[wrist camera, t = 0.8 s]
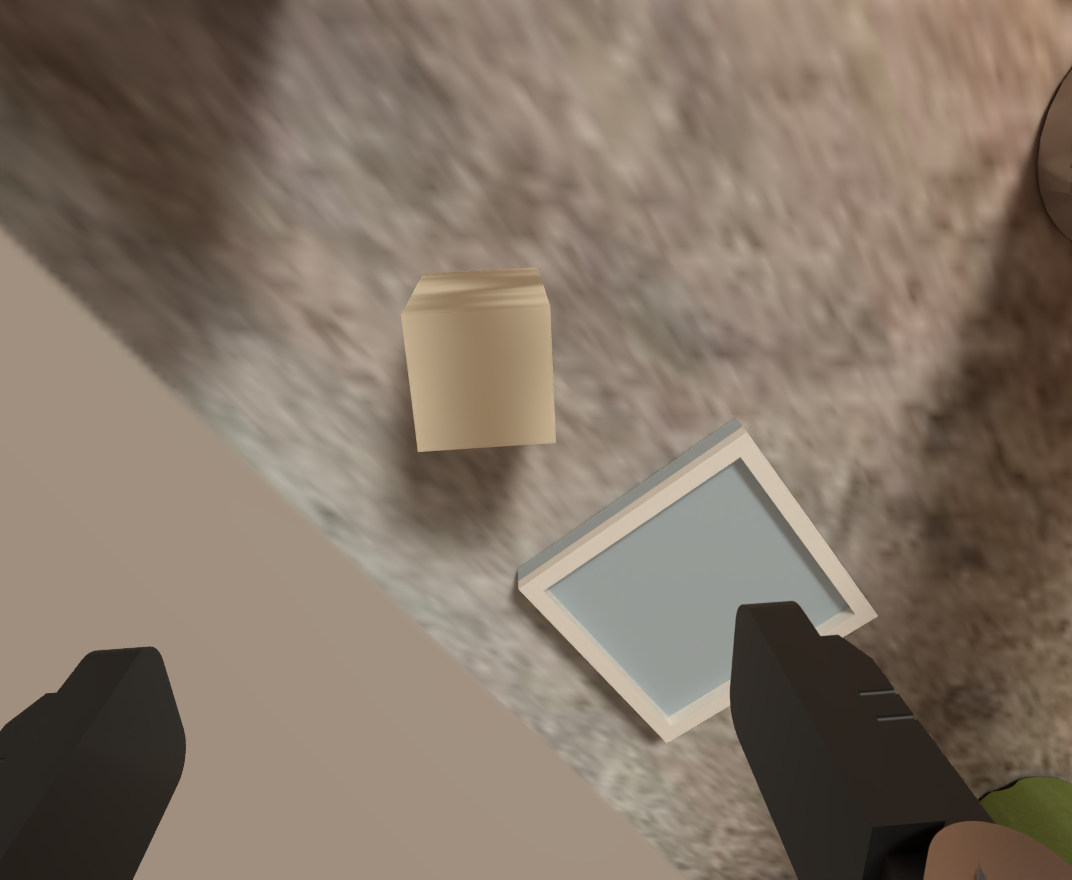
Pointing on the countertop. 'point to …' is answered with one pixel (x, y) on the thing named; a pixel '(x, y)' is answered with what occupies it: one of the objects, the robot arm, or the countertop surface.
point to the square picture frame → (688, 578)
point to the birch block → (480, 360)
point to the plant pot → (1036, 811)
